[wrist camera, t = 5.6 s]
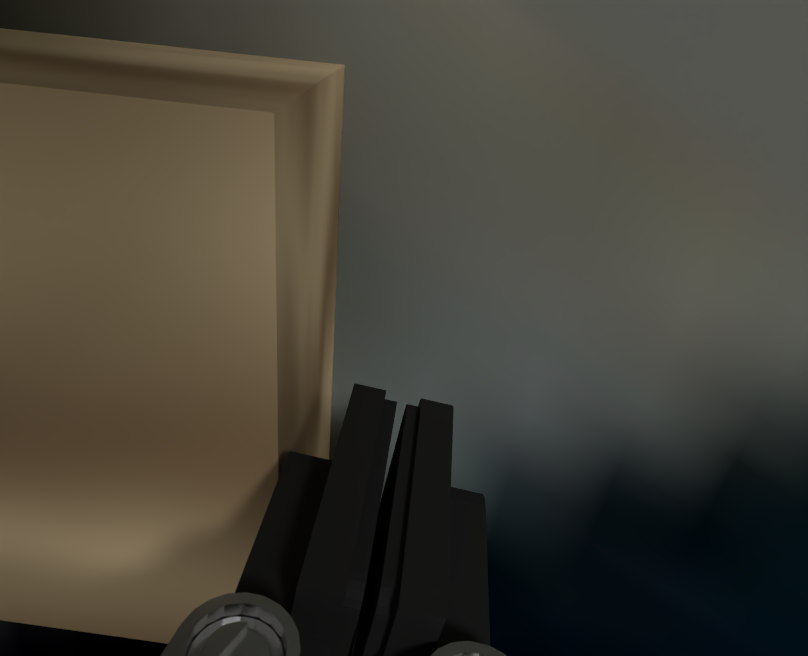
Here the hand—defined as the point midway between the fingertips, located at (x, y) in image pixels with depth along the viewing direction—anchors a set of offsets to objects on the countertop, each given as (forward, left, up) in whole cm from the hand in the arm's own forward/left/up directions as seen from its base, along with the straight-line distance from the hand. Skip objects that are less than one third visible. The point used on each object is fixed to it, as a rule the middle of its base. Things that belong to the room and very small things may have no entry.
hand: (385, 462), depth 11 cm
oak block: (0, -6, -4) cm, 7 cm away
